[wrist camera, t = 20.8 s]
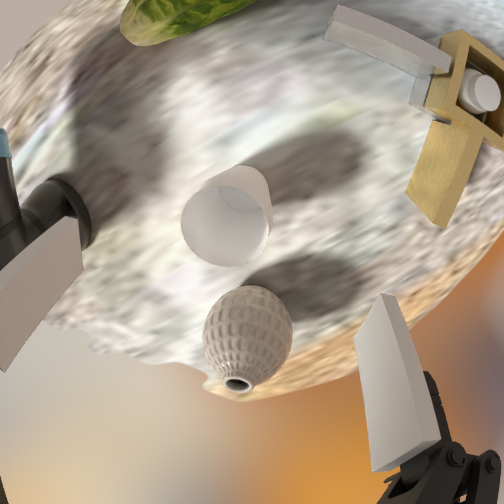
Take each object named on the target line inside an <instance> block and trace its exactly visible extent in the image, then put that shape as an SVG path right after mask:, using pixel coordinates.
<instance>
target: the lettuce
mask: <svg viewBox="0 0 504 504" xmlns="http://www.w3.org/2000/svg"><path fill="white" fill-rule="evenodd" d="M255 1H257V0H129V2H128V4H127V6H126V7H125V9H124V11H123V13H122V16H121V20H120V31H121V33H122V34H123V36H124V37H125V38H126V39H127V40H128V41H130V42H131V43H132V44H134V45H136V46H150V45H155V44H159V43H161V42H164V41H167V40H169V39H172V38H176V37H181V36H184V35H187V34H189V33H192V32H195V31H197V30H199V29H201V28H203V27H205V26H207V25H209V24H211V23H213V22H215V21H216V20H218V19H220V18H223V17H226V16H228V15H231V14H234V13H236V12H238V11H240V10H242V9H243V8H245V7H247V6H248V5H250V4H252V3H254V2H255Z"/></svg>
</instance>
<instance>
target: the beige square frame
mask: <svg viewBox="0 0 504 504" xmlns="http://www.w3.org/2000/svg"><path fill="white" fill-rule="evenodd" d="M440 50H441V51H443V52H445V53H446V54H448V55H449V56H451V57H452V59H451V64H450V68H449V72H448V73H445V74H434V75H433V78H432V82H431V86H430V89H429V93H428V96H427V99H426V103H425V106H424V107H426V108H428V109H430V110H432V111H434V112H435V113H437V114H439V115H441V116H443V117H444V118H446V119H448V120H449V121H451V124H450V125H447V124H444V123H440V122H437V121H433V120H432V123H431V126H430V129H429V132H428V135H427V138H426V141H425V144H424V146H423V149H422V152H421V154H420V157H419V160H418V162H417V165H416V167H415V170H414V173H413V175H412V178H411V180H410V182H409V185H408V187H407V190H406V192H405V194H406V195H407V196H408V197H409V198H410V199H411V200H412V201H413V202H414V203H415V204H416V205H417V206H418V207H419V208H420V210H421V211H422V212H423V213H424V214H425V215H426V216H427V217H428V219H429V220H430V221H431V222H432V223H434V224H436V225H438V226H440V227H443V228H446V226H447V224H448V222H449V220H450V218H451V216H452V214H453V212H454V210H455V208H456V205H457V203H458V201H459V199H460V197H461V194H462V192H463V190H464V187H465V185H466V183H467V180H468V178H469V175H470V173H471V170H472V168H473V165H474V162H475V160H476V157H477V154H478V152H479V149H480V146H481V143H482V142H483V143H485V144H487V145H489V146H492V147H494V148H496V149H498V150H501V151H503V152H504V61H503V60H502V59H501V58H500V57H498V56H497V55H496V54H495V53H494V52H492V51H491V50H490V49H488V48H487V47H486V46H485V45H483V44H482V43H481V42H479V41H478V40H477V39H475V38H474V37H472V36H471V35H470V34H468V33H467V32H465V31H464V30H462V29H461V30H458V31H454V32H450V33H447V34H443V37H442V42H441V46H440ZM467 60H469V61H470V62H472V63H473V64H474V65H476V66H477V67H479V68H480V69H481V70H483V71H484V72H485V73H487V74H488V75H489V76H490V77H492V78H493V79H494V80H495V82H496V83H497V85H498V87H499V90H500V95H501V100H500V104H499V106H498V108H497V109H496V110H494V111H487V115H486V118H485V121H484V124H483V123H482V122H480V121H479V120H478V119H476V118H475V117H473V116H472V115H470V114H469V113H467V112H466V111H464V110H463V109H461V108H460V107H458V106H456V105H455V104H456V100H457V97H458V93H459V89H460V86H461V82H462V78H463V74H464V69H465V65H466V61H467Z"/></svg>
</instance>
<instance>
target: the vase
mask: <svg viewBox="0 0 504 504" xmlns="http://www.w3.org/2000/svg"><path fill="white" fill-rule="evenodd" d="M292 335H293V329H292V322H291V318H290V315H289V312H288V310H287V308H286V307H285V305H284V304H283V302H282V301H281V300H280V299H279V298H278V297H277V296H276V295H275V294H274V293H273V292H271V291H270V290H268V289H265V288H263V287H260V286H254V285H247V286H241V287H238V288H236V289H233V290H231V291H229V292H227V293H226V294H224V295H223V296H222V297H220V298H219V299H218V301H217V302H216V303H215V304H214V305H213V307H212V308H211V310H210V312H209V314H208V316H207V319H206V321H205V325H204V330H203V347H204V352H205V355H206V358H207V361H208V363H209V365H210V367H211V368H212V370H213V371H214V372H215V374H216V375H217V376H218V377H219V378H220V379H221V380H222V384H223V386H224V387H225V388H227V389H228V390H230V391H233V392H237V393H246V392H249V391H251V390H252V389H253V388H254V386H257V385H259V384H261V383H263V382H265V381H267V380H268V379H270V378H271V377H272V376H274V375H275V374H276V373H277V372H278V370H279V369H280V368H281V367H282V365H283V364H284V362H285V361H286V359H287V357H288V355H289V352H290V349H291V344H292Z"/></svg>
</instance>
